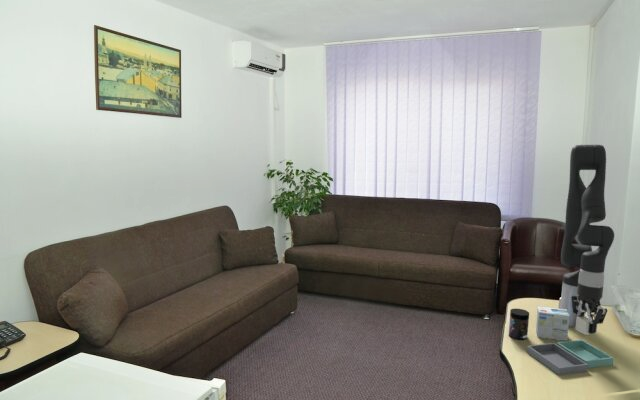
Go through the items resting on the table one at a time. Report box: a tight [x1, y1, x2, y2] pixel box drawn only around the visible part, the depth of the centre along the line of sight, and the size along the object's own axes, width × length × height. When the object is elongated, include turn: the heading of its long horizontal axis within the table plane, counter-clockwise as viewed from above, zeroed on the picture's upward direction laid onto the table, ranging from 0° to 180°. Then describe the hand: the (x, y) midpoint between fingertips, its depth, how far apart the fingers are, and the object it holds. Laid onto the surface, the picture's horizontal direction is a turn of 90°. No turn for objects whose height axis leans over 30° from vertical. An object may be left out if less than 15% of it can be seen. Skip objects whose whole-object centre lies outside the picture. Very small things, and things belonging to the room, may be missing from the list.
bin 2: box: [555, 339, 615, 369], centre depth 164 cm, size 14×11×3 cm
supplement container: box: [508, 308, 530, 341], centre depth 179 cm, size 7×7×10 cm
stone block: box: [574, 315, 598, 336], centre depth 162 cm, size 4×4×4 cm
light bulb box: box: [535, 305, 569, 342], centre depth 180 cm, size 11×7×11 cm, turn 71°
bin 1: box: [526, 342, 589, 376], centre depth 161 cm, size 16×11×3 cm
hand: (586, 330), depth 163 cm, fingers closed on stone block, 4 cm apart
